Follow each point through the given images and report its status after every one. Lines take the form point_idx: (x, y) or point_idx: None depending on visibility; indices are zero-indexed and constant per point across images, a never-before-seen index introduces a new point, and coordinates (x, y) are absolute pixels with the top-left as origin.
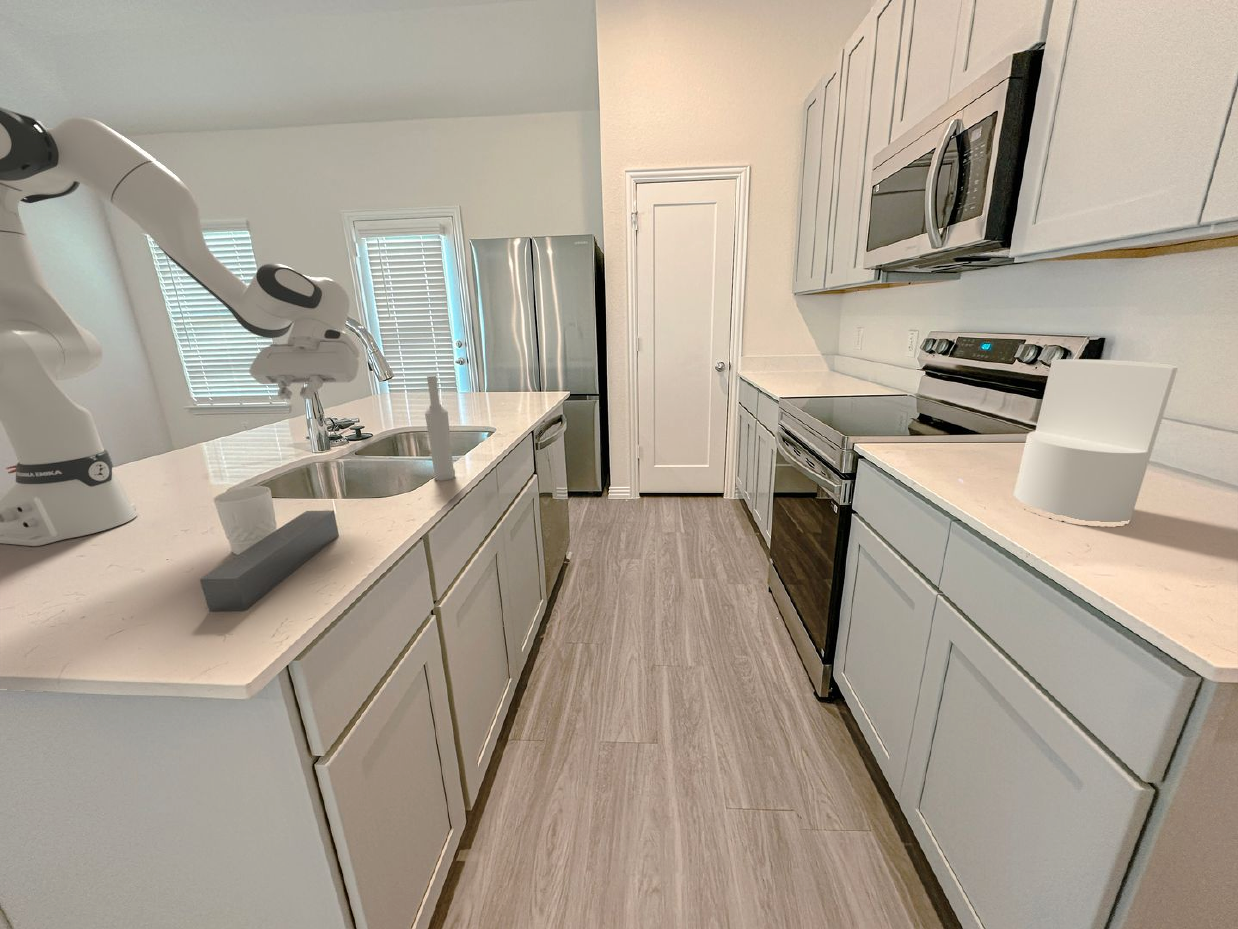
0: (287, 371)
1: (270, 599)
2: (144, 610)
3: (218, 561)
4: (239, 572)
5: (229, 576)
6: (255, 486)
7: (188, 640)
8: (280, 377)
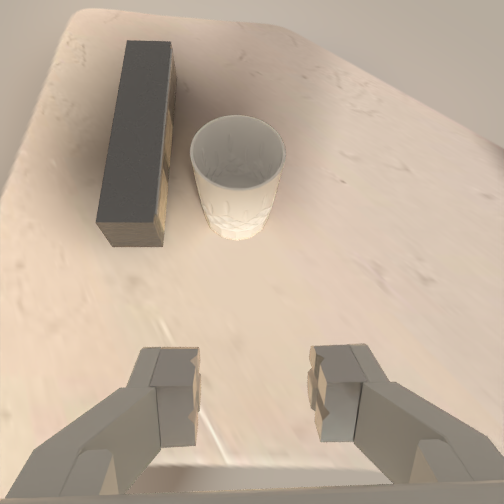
0: (422, 499)
1: None
2: (251, 83)
3: None
4: (132, 49)
5: (138, 43)
6: (243, 188)
7: None
8: (486, 477)
